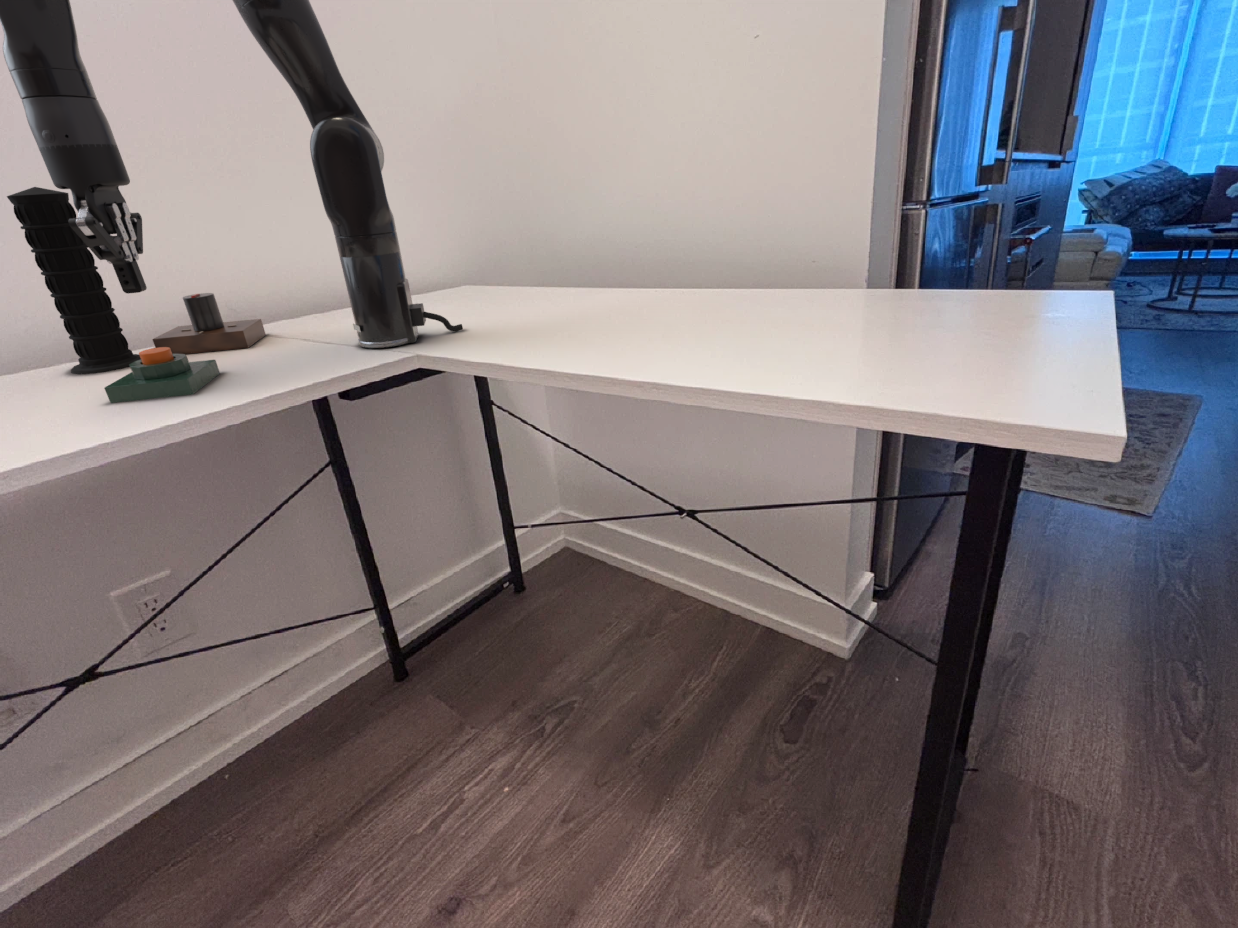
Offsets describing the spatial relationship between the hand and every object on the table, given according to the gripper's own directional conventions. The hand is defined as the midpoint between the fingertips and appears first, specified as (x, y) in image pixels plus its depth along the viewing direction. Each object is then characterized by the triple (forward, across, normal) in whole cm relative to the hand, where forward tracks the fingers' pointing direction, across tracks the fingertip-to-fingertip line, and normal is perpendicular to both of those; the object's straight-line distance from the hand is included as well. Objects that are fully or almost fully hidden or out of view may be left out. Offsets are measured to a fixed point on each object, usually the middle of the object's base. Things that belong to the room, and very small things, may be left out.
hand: (136, 291), depth 81 cm
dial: (+10, +26, +3) cm, 28 cm away
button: (+9, 0, +1) cm, 10 cm away
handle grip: (+13, +18, +16) cm, 28 cm away
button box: (+13, 0, +1) cm, 13 cm away
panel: (+13, +26, +3) cm, 29 cm away
